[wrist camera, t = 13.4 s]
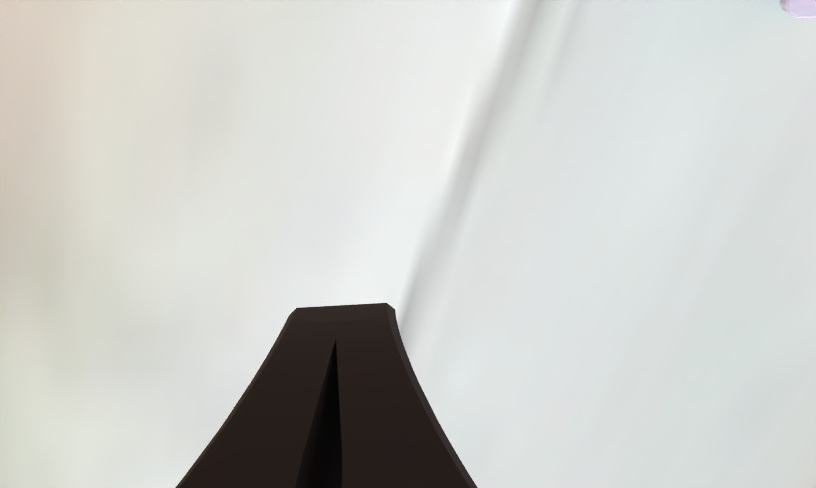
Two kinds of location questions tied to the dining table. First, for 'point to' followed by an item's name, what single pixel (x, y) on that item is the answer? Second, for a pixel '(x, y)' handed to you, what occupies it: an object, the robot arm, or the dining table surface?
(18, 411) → the dining table surface
